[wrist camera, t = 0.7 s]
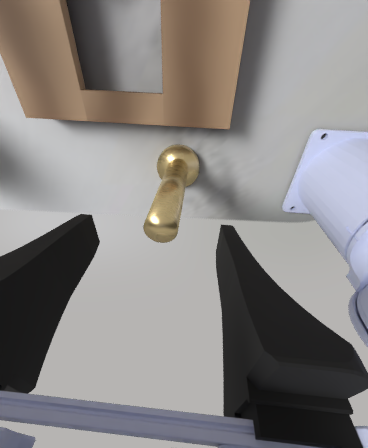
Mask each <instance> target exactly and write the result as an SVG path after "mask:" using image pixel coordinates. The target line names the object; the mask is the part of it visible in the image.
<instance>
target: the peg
mask: <svg viewBox="0 0 368 448" xmlns="http://www.w3.org/2000/svg"><path fill="white" fill-rule="evenodd" d="M157 170H158V174H159V176H160V178H161V179H162V181H161V183H160V186H159V188H158V191H157V193H156V196H155V198H154V201H153V203H152V206H151V208H150V211H149V213H148V215H147V218H146V220H145V223H144V232H145V234H146V235H147V236H148V237H149V238H150V239H152V240H154V241H156V242H161V243H165V242H170V241H172V240H173V239H174V238H175V237H176V236H177V233H178V227H179V220H180V216H181V210H182V204H183V199H184V193H185V187H187V186H189V185H191V184H192V183H193V182H194V181H195V180H196V178H197V176H198V174H199V160H198V157H197V155H196V154H195V152H194V151H193V150H192V149H190V148H189V147H187V146H184V145H172V146H169V147H168V148H166V149H165V150H164V151H163V152H162V154H161V155H160V157H159V159H158V163H157Z"/></svg>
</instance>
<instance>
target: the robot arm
mask: <svg viewBox="0 0 368 448" xmlns="http://www.w3.org/2000/svg"><path fill="white" fill-rule="evenodd" d="M325 133H326V136H325V137H324V138H323V139H321V136H322V135H323V134H325ZM293 206H294V208H292V209H290V208H291V207H293ZM282 209H283V211H284V212H293V213H306V214H311V215H312V216H313V218H314V219H315V220H316V222H317V223H318V224H319V226H320V227H321V228H322V230H323V231H324V232H325V233H326V235H327V236H328V238H329V239H330V240H331V242H332V243H333V244H334V246H335V247H336V248H337V250H338V251H339V253H340V254H341V255H342V256H343V258H344V259H345V260H346V262H347V263H348V264H349V267H350V270H349V273H348V274H347V276H346V277H347V278H348V280H349V281H350V283H351V284H352V286H353V287H354V288H355V290H356V292H355V293H354V294H353V295H352V297H351V299H350V301H349V305H348V308H349V315H350V319H351V321H352V324H353V326H354V328H355V330H356V331H357V333H358V335H359V336H360V338H361V339H362V340H363V342H364V343H365V344H366V346H367V347H368V132H365V131H347V130H329V129H316V130H314V131H313V132H312V133H311V135H310V137H309V140H308V142H307V145H306V147H305V150H304V152H303V155H302V157H301V160H300V162H299V165H298V167H297V170H296V172H295V175H294V177H293V180H292V182H291V185H290V188H289V190H288V193H287V195H286V198H285V200H284V203H283V205H282ZM99 242H100V241H99V238H98V235H97V232H96V228H95V225H94V222H93V218H92V215H86V214H80V215H78V216H76V217H74V218H72V219H71V220H69V221H67V222H65V223H64V224H62V225H60V226H59V227H57V228H55V229H53V230H51V231H50V232H48V233H46V234H44V235H43V236H41V237H39V238H37V239H35V240H33V241H31V242H30V243H28V244H26V245H24V246H22V247H20V248H18V249H16V250H14V251H12V252H10V253H7V254H5V255H3V256H1V257H0V420H5V421H12V422H20V423H29V424H37V425H45V426H54V427H62V428H69V429H78V430H86V431H94V432H102V433H110V434H119V435H127V436H135V437H144V438H151V439H159V440H168V441H176V442H184V443H192V444H201V445H209V446H216V447H218V448H368V426H355V427H354V425H353V423H352V420H351V418H350V416H349V415H351V414H353V410H352V407H351V405H350V403H349V401H348V398H350V397H352V396H354V395H356V394H358V393H360V392H362V391H364V390H366V389H367V388H368V373H367V371H366V369H365V367H364V365H363V363H362V361H361V359H360V358H359V356H358V354H357V353H356V351H355V350H354V348H353V346H352V345H351V344H350V343H349V342H347V341H346V340H345V339H343V338H341V337H340V336H339V335H338V334H336V333H335V332H333V331H332V330H331V329H329V328H328V327H326V326H325V325H324V324H322V323H321V322H320V321H319V320H317V319H316V318H315V317H314V316H312V315H311V314H310V313H308V312H307V311H306V310H305V309H304V308H302V307H301V306H300V305H299V304H298V303H297V302H295V301H294V300H293V299H292V298H291V297H290V296H289V295H288V294H287V293H286V292H284V290H282V289H281V288H280V287H279V286H278V285H277V284H276V283H275V281H274V280H272V278H271V277H270V276H269V275H268V274H267V273H266V272H265V271H264V269H263V268H262V267H261V266H260V265H259V263H258V262H257V261H256V260H255V258H254V257H253V256H252V254H251V253H250V251H249V250H248V249H247V247H246V246H245V244H244V243H243V241H242V240H241V238H240V237H239V235H238V233H237V232H236V230H235V228H234V227H233V226H231V225H221V228H220V233H219V239H218V244H217V249H216V269H217V278H218V285H219V292H220V300H221V308H222V328H223V368H224V369H223V371H224V417H222V416H214V415H206V414H197V413H189V412H180V411H172V410H163V409H154V408H145V407H137V406H129V405H120V404H111V403H103V402H93V401H85V400H77V399H68V398H60V397H51V396H43V395H34V394H28V393H29V392H31V391H32V390H33V389H34V388H35V386H36V383H37V380H38V377H39V374H40V371H41V368H42V365H43V362H44V360H45V357H46V354H47V351H48V349H49V346H50V343H51V341H52V338H53V336H54V333H55V331H56V329H57V326H58V323H59V321H60V319H61V317H62V314H63V312H64V310H65V308H66V306H67V303H68V301H69V299H70V297H71V295H72V293H73V292H74V290H75V288H76V287H77V285H78V283H79V282H80V280H81V277H82V276H83V275H84V273H85V271H86V270H87V268H88V266H89V265H90V263H91V261H92V259H93V257H94V255H95V253H96V251H97V248H98V245H99ZM34 442H35V437H32V436H28V435H24V434H21V433H17V432H14V431H11V430H9V429H7V428H3V427H0V448H32V447H33V445H34Z"/></svg>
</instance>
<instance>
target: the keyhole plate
mask: <svg viewBox="0 0 368 448" xmlns="http://www.w3.org/2000/svg"><path fill="white" fill-rule="evenodd" d="M249 5H250V0H161V34H162V75H163V93H145V92H125V91H105V90H86V89H85V84H84V80H83V75H82V71H81V66H80V62H79V57H78V53H77V48H76V44H75V39H74V35H73V30H72V26H71V21H70V17H69V12H68V7H67V3H66V0H0V54H1V56H2V59H3V61H4V64H5V66H6V69H7V71H8V74H9V76H10V79H11V81H12V83H13V86H14V88H15V91H16V93H17V96H18V98H19V101H20V103H21V106H22V108H23V111H24V113H25V116H26V118H43V119H60V120H77V121H94V122H112V123H129V124H146V125H164V126H181V127H198V128H216V129H230V122H231V116H232V110H233V104H234V98H235V91H236V85H237V79H238V73H239V67H240V60H241V54H242V48H243V42H244V36H245V29H246V23H247V17H248V11H249Z"/></svg>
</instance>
